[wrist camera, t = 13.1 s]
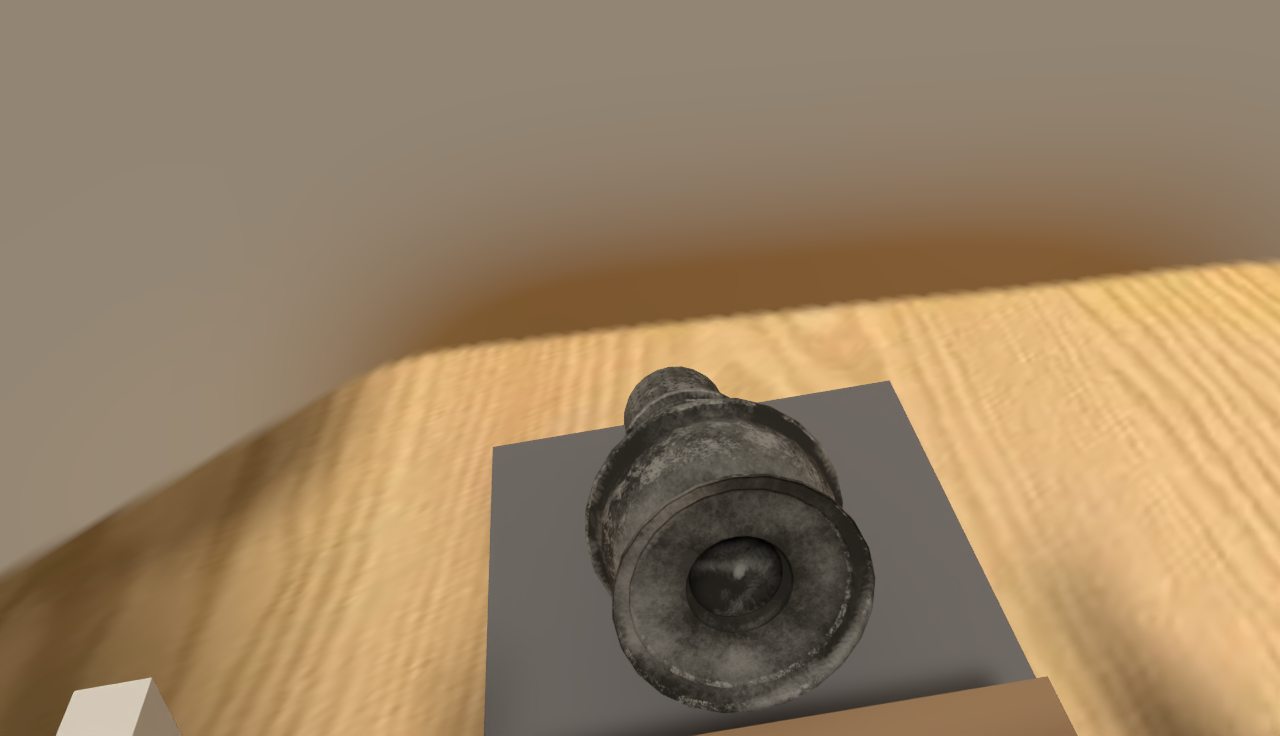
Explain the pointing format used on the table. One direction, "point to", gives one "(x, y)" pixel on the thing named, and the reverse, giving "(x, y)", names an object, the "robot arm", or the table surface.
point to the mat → (582, 608)
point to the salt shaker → (725, 548)
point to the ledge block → (938, 716)
